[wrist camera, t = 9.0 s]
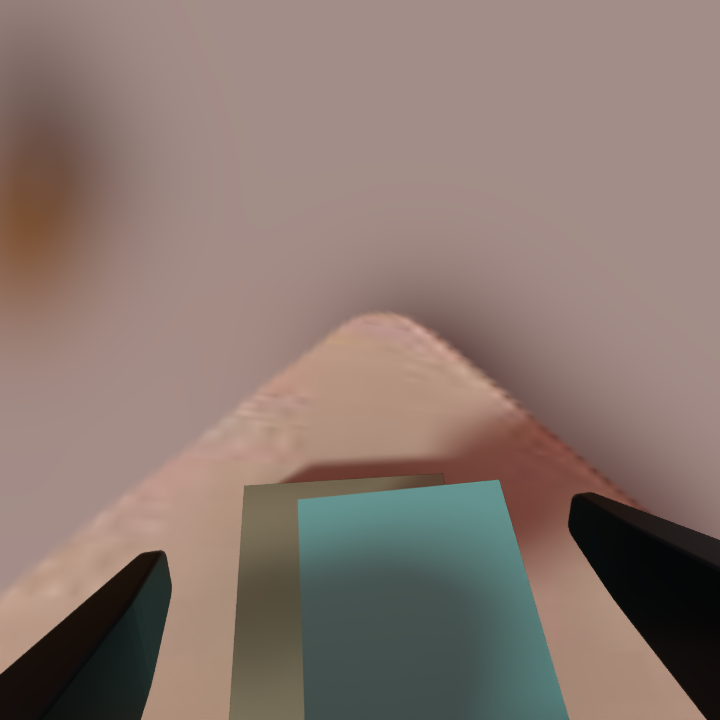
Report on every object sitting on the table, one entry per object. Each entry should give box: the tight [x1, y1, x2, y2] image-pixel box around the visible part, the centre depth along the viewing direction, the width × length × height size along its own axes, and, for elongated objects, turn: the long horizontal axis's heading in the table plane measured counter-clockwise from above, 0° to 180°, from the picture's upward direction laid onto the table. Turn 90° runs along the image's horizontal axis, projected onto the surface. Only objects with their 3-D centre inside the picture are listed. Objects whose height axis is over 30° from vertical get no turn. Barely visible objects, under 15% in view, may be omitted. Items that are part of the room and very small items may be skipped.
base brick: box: [229, 473, 445, 720], centre depth 16 cm, size 9×9×4 cm
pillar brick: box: [298, 480, 569, 720], centre depth 11 cm, size 4×4×10 cm
